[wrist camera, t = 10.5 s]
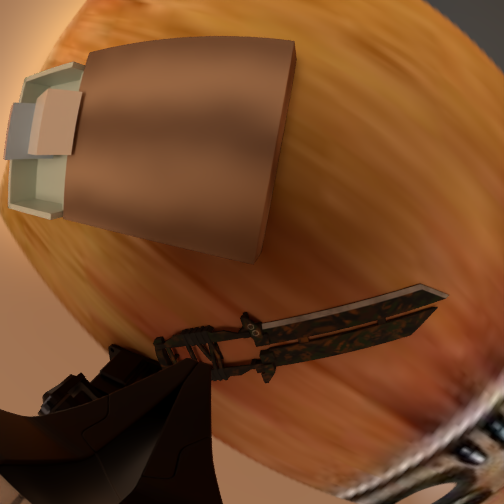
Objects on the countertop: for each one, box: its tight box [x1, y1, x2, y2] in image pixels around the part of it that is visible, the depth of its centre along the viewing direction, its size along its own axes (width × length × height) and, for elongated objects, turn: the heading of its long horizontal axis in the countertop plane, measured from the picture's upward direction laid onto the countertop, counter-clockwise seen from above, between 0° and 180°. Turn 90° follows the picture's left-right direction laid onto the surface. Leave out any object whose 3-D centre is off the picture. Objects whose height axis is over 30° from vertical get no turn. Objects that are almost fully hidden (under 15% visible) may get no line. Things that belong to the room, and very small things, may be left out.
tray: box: [8, 62, 85, 220], centre depth 19 cm, size 13×8×4 cm, turn 170°
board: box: [63, 36, 297, 265], centre depth 17 cm, size 14×16×3 cm
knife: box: [153, 284, 449, 383], centre depth 21 cm, size 25×6×1 cm, turn 103°
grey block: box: [3, 103, 53, 160], centre depth 18 cm, size 5×5×3 cm
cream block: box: [28, 88, 82, 155], centre depth 16 cm, size 5×5×3 cm
